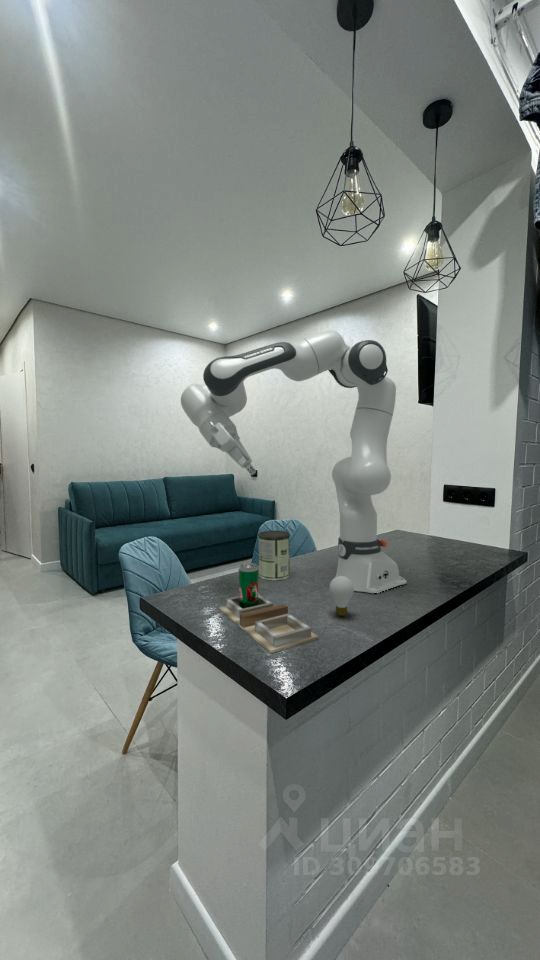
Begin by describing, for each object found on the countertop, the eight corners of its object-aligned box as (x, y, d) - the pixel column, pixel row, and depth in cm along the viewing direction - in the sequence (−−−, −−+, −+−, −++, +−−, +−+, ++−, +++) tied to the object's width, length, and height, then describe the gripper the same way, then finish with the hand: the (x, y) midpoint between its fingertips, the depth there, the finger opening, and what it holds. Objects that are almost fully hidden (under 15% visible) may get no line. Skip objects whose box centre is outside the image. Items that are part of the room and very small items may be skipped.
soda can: (239, 607, 103) (239, 562, 102) (259, 607, 103) (259, 562, 102) (237, 615, 98) (237, 568, 97) (258, 615, 98) (257, 568, 97)
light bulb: (331, 610, 101) (331, 571, 100) (354, 612, 99) (354, 574, 99) (327, 619, 95) (328, 579, 95) (352, 622, 94) (352, 581, 93)
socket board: (219, 609, 101) (219, 597, 101) (259, 600, 107) (259, 589, 107) (270, 653, 79) (270, 638, 79) (318, 639, 85) (318, 625, 85)
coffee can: (266, 569, 136) (266, 529, 135) (294, 573, 132) (294, 531, 131) (253, 578, 127) (252, 535, 126) (282, 582, 123) (282, 538, 122)
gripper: (216, 409, 98) (248, 449, 94) (238, 436, 118) (266, 470, 114) (197, 425, 98) (228, 466, 94) (222, 450, 118) (249, 484, 114)
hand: (249, 468), depth 104 cm, fingers open, 8 cm apart
